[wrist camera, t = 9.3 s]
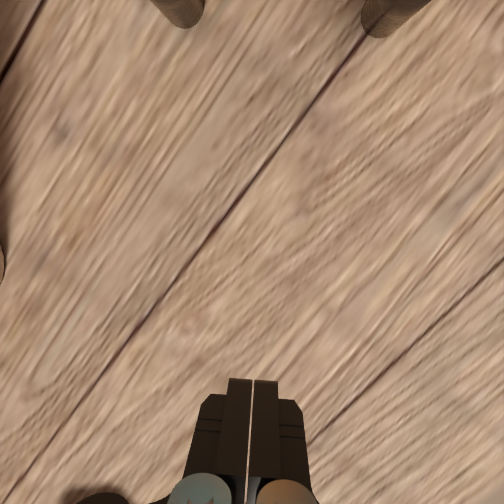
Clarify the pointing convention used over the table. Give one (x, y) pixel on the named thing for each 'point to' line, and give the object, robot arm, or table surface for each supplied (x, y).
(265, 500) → the robot arm
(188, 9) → the post
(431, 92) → the table surface
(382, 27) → the post
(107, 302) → the table surface
